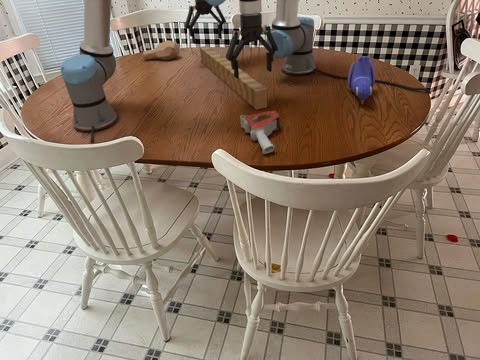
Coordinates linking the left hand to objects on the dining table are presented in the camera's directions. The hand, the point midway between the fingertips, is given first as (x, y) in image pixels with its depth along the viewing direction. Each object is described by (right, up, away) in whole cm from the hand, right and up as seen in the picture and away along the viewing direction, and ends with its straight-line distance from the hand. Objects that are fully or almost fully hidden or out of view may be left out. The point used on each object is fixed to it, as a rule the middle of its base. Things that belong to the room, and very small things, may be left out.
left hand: (253, 74), depth 135 cm
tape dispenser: (+2, -26, -17) cm, 31 cm away
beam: (-10, +5, +26) cm, 28 cm away
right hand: (-21, +28, +39) cm, 52 cm away
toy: (+42, -8, +4) cm, 43 cm away
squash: (-47, +25, +58) cm, 79 cm away
